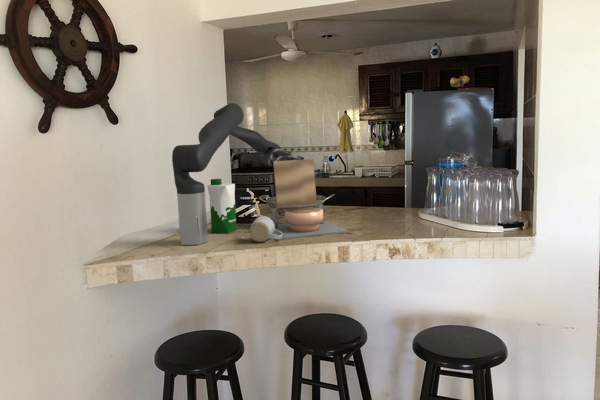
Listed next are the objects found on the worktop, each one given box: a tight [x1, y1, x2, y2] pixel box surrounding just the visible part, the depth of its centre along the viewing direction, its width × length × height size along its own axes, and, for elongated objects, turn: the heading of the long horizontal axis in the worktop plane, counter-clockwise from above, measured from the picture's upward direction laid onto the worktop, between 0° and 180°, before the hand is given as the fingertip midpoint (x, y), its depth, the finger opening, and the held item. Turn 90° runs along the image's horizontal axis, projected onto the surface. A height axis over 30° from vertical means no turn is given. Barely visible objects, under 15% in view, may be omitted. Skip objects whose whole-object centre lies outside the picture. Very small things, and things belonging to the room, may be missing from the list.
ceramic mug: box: [248, 215, 283, 243], centre depth 155 cm, size 11×8×8 cm
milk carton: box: [206, 178, 237, 234], centre depth 173 cm, size 9×9×20 cm
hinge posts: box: [271, 204, 324, 229], centre depth 176 cm, size 2×20×8 cm, turn 109°
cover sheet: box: [272, 158, 318, 211], centre depth 176 cm, size 18×16×1 cm
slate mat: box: [273, 219, 350, 241], centre depth 172 cm, size 26×26×1 cm
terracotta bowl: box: [284, 207, 324, 232], centre depth 169 cm, size 14×14×7 cm
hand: (291, 163), depth 183 cm, fingers open, 8 cm apart
